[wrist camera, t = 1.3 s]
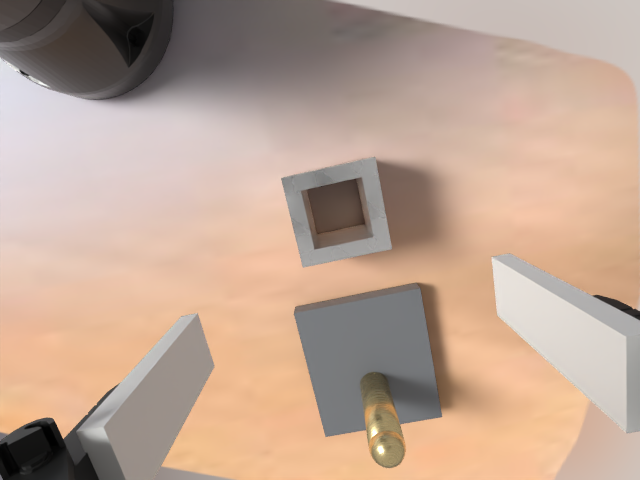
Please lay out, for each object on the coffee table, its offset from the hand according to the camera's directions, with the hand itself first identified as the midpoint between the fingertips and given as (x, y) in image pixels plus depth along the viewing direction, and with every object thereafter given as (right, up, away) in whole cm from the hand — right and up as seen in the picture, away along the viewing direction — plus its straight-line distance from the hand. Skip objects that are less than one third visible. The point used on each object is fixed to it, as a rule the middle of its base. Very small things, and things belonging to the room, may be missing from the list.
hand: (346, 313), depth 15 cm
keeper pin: (+4, -11, +19) cm, 22 cm away
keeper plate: (+4, -9, +19) cm, 22 cm away
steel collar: (0, +6, +16) cm, 17 cm away
